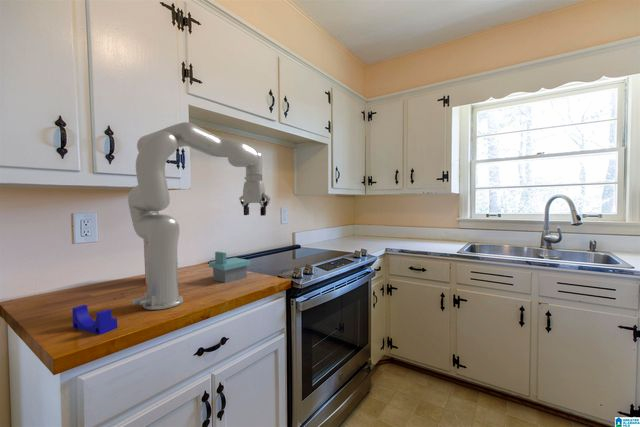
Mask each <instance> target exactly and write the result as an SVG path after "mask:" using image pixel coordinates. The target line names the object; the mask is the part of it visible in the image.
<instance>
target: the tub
mask: <svg viewBox="0 0 640 427" xmlns="http://www.w3.org/2000/svg"><path fill="white" fill-rule="evenodd" d="M247 266H248V265H246V266H242V267H237V268H233V269H229V270H220V269H216V268H212V270H213V271H212V277H213V278H212V279H213V280H214V281H216V282H217V281H218V282H221V283H225V284H227V283H230V282H233V281H238V280H241V279H244V278H247V277H248V274H247V273H248V272H247Z"/></svg>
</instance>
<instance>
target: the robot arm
mask: <svg viewBox="0 0 640 427" xmlns="http://www.w3.org/2000/svg"><path fill="white" fill-rule="evenodd" d="M182 147H183V148H184V147H189V148H191V149H193V150H196V151H198V152H200V153H203V154H205V155H208V156H210V157H216V158H227V161H228V162H229V164H230V165H231V166H233V167H235V168H245V176H244V180H245V181H244V183H243V188H242V195H241V196H240V197H238V198H239V201H240V202H239V203H240V204H241V207H243V216H249V215H250V207H249V205H250V204H259V205H260V209H259V210H260V216H261V217H265V216H266V215H267V206H268V205H269V203H270V201H271V197H270V196H268V195H267V194H266V188H265V182H264V181H263V155H262V153H261V152H259V151H257V150H255V149H254V148H253V147H251V146H249V145H247V144H246V143H243V142H241V141H238V140H234V139H230V138H226V137H222V136H219V135H216V134H214V133H212V132H210V131H209V130H206V129H205V128H202V127H200V126H198V125H196V124H194V123H192V122H188V121H187V122H185V121H183V122H181V123H176V124H172V125H169V126H166V127H165V128H162V129H160V130H157V131H155V132H151V133H148V134H146V135H143V136H141V137H140V138H139V139H138V140H137V143H136V148H137V152H138V154H137V157H136V159H135V173H136V179H137V185H135V186H134V187H133V188H131V190H130V191H129V193H128V197H127V204H128V209H129V212H130V217H131V221H132V222H131V223H132V226H133V229H134V233H135V234H136V235H137V236H138V237H139V238H141V239H143V240H144V239H146V240H149V243H148V247H147V285H146V286H147V292H144V293H143V294H144V295H142V296H141V297H138V298H134V299H133V298H132V299H131V304H132V306H135V305H140V306H141V305H142V307H143V308H144V309H145V310H151V311H154V310H155V311H157V310H159V311H160V310H165V309H170V308H174V307H176V306H179V305H181V304H182V303H183V301H184V297H183V296H182V295H179V271H178V270H179V267H178V264H179V263H178V244H179V237H180V224H179V222H178V221H177V219H176V218H175V217H173V216H171V215H168V214H162V213H161V214H160V212H159V211H164V210H165V209H167V208H168V207H169V205H170V201H171V198H170V192H169V188H168V182H167V177H166V164H167V161H168V160H169V158H170V157H171V155H173V154H175V152H176V151H177V149H179V148H182Z"/></svg>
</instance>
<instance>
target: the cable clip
mask: <svg viewBox="0 0 640 427" xmlns="http://www.w3.org/2000/svg"><path fill="white" fill-rule="evenodd" d="M71 312H72V328H73V329H75V330H79V331H84V332H88V333H92V334H97V335H99V336H100V335H101V336H102V335H105V334H106V333H109V332H111V331H113V330H116V329H118V318H116V317H113V316H112V309H109V308H107V309H105V310H104V309H103V310H102V311H99V312H96V317H95V320H94V319H93V318H92V317H91V315H90V312H89V309H88V304H82V305H77V306H75V307H72V309H71Z"/></svg>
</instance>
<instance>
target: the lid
mask: <svg viewBox="0 0 640 427" xmlns="http://www.w3.org/2000/svg"><path fill="white" fill-rule="evenodd" d="M246 265H247V266H250V265H251V260H250V259H245V258H239V257H230V258H227V252H222V251H215V254H214V261H209V262H208V267H209V268H212V269H213V268H216V269H220V270H229V269H233V268H237V267H242V266H246Z"/></svg>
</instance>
